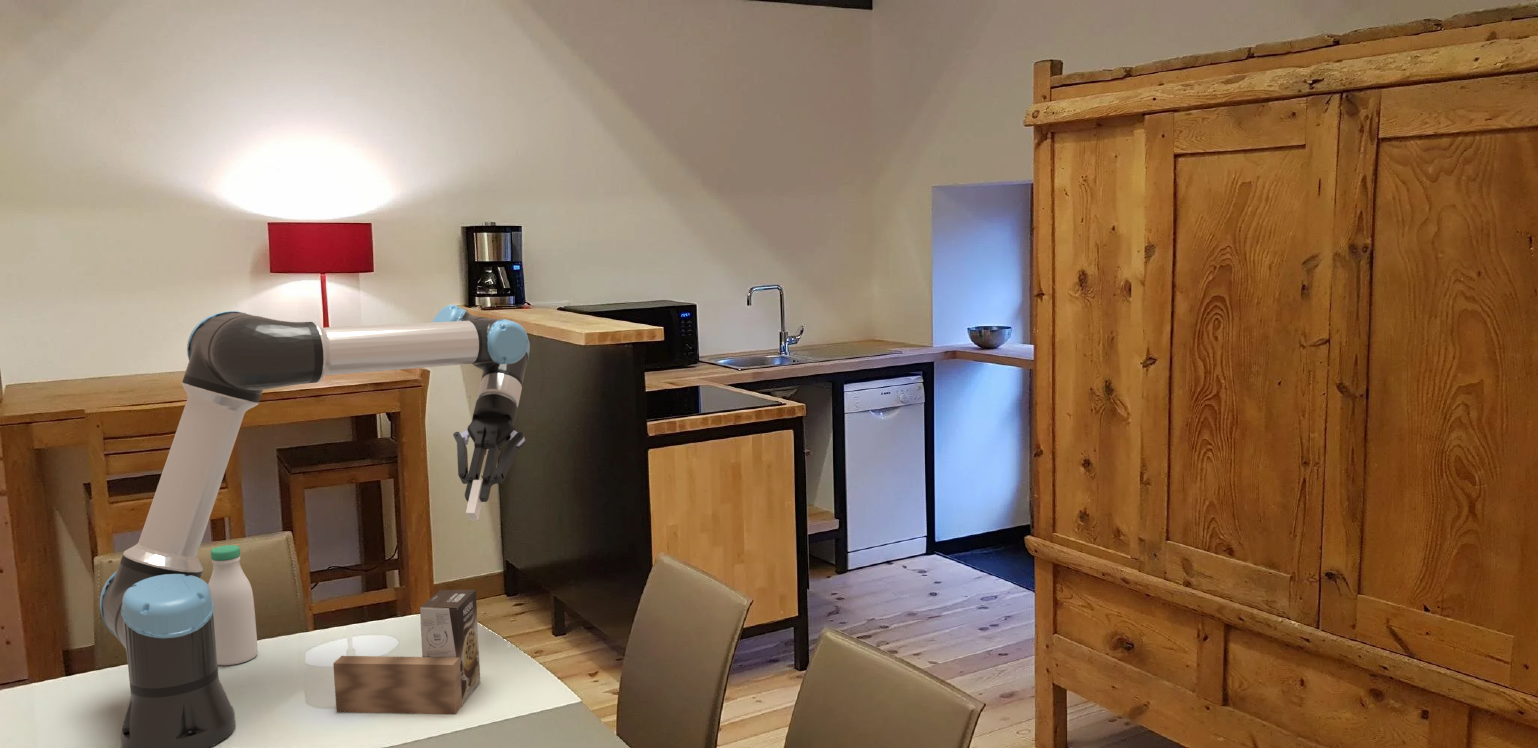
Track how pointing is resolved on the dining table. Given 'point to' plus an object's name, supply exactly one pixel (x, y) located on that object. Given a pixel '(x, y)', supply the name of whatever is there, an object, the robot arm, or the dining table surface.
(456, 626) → the coffee box
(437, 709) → the wooden block
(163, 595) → the robot arm
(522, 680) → the dining table surface
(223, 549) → the milk bottle
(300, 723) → the dining table surface
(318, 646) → the dining table surface
